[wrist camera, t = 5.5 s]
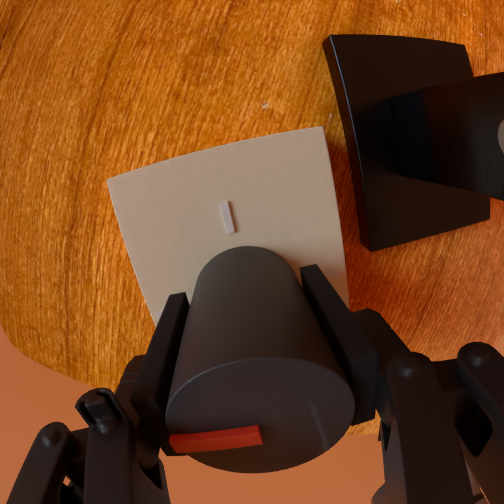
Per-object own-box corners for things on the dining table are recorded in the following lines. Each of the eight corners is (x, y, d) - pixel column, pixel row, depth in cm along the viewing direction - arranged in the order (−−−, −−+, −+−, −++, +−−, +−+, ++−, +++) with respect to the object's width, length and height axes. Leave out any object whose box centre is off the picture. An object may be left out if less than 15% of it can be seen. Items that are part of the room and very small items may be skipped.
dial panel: (339, 347, 20) (354, 376, 17) (197, 378, 20) (193, 410, 17) (307, 130, 15) (324, 125, 12) (126, 174, 15) (103, 179, 12)
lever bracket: (477, 214, 17) (606, 272, 6) (360, 244, 17) (497, 363, 6) (452, 49, 13) (584, 17, 2) (321, 43, 14) (441, -75, 2)
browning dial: (290, 235, 14) (360, 340, 6) (305, 327, 15) (356, 459, 7) (181, 258, 14) (129, 383, 6) (210, 347, 15) (200, 487, 7)
